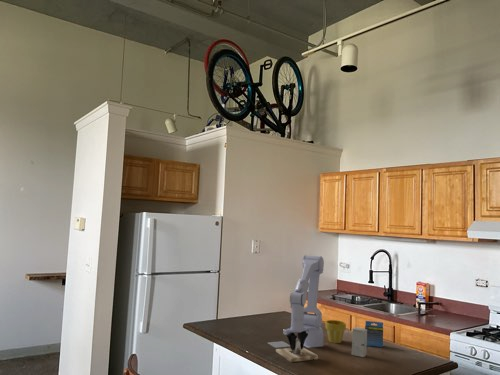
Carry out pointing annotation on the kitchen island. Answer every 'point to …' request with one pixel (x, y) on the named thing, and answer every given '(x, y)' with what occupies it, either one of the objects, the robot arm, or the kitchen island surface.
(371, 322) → the label tape box
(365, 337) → the skincare box
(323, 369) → the kitchen island surface
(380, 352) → the kitchen island surface
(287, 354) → the hole plate
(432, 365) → the kitchen island surface
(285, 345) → the pad
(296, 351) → the steel peg
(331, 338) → the plant pot
